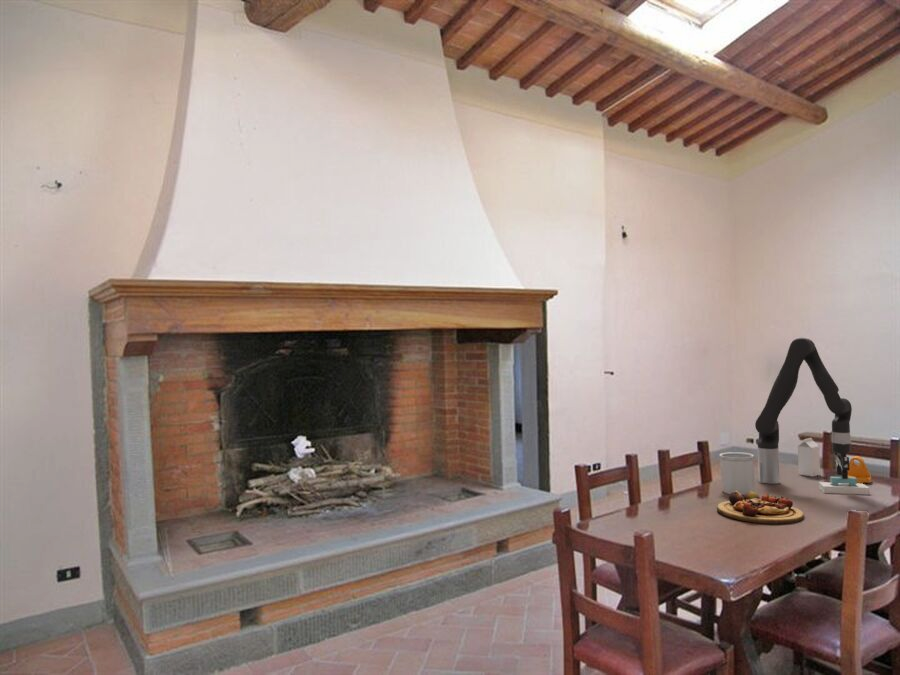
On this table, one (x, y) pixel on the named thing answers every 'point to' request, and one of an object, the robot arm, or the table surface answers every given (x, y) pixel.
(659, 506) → the table surface
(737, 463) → the utensil holder
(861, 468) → the bracket
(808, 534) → the table surface
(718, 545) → the table surface
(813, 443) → the milk carton
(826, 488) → the white slotted board
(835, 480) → the teal block
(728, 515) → the wooden plate with food
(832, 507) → the table surface
